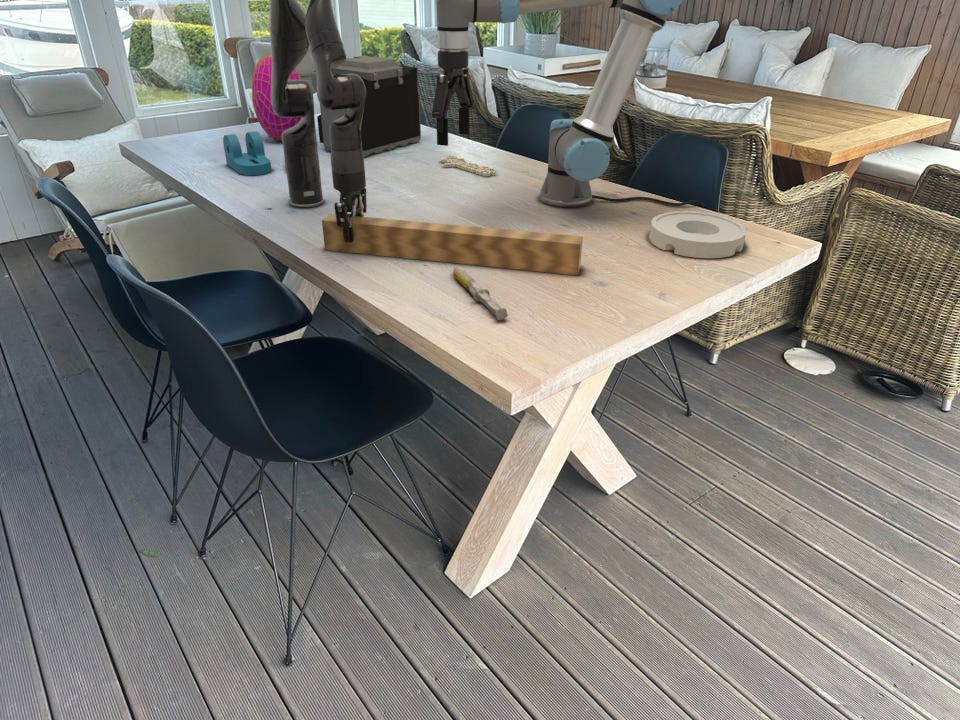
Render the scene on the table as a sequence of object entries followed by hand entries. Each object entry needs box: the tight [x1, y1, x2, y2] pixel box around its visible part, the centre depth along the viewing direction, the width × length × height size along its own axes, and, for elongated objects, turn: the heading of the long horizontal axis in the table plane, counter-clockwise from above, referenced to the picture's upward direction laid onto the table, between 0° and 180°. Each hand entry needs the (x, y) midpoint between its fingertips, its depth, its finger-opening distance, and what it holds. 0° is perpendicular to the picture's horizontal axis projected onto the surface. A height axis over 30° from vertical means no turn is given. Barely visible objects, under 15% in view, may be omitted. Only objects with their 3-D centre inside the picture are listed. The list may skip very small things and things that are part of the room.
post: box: [321, 213, 584, 276], centre depth 161 cm, size 62×5×8 cm, turn 77°
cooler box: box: [310, 55, 422, 158], centre depth 250 cm, size 37×22×30 cm, turn 144°
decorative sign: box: [440, 154, 496, 177], centre depth 233 cm, size 26×1×10 cm
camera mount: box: [222, 131, 272, 176], centre depth 226 cm, size 18×10×10 cm, turn 35°
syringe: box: [452, 266, 509, 321], centre depth 145 cm, size 25×4×3 cm, turn 21°
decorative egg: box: [251, 54, 302, 142], centre depth 257 cm, size 19×19×30 cm
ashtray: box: [648, 210, 747, 259], centre depth 174 cm, size 23×23×4 cm
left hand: (354, 236), depth 166 cm, fingers open, 6 cm apart
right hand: (453, 139), depth 177 cm, fingers open, 13 cm apart
